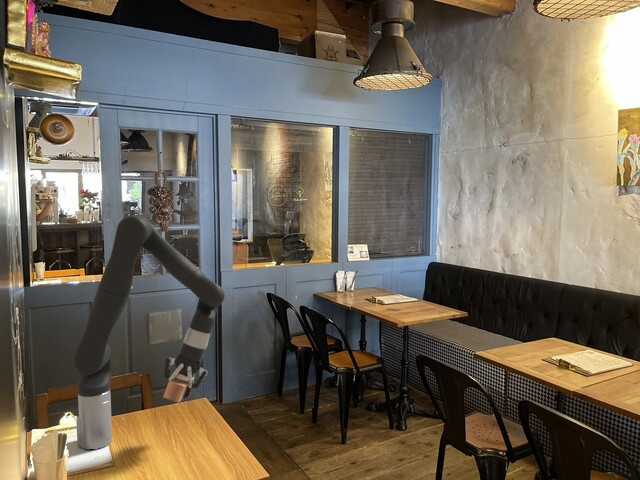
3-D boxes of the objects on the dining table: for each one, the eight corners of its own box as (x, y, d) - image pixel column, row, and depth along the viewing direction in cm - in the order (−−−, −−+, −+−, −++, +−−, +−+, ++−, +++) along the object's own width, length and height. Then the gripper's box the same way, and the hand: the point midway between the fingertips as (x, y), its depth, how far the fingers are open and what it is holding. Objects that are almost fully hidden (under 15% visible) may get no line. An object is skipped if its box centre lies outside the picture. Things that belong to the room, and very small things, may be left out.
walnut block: (174, 388, 159) (163, 397, 147) (179, 374, 160) (169, 381, 148) (188, 394, 159) (178, 402, 147) (193, 379, 160) (184, 386, 148)
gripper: (170, 337, 151) (151, 390, 149) (213, 352, 151) (194, 406, 149) (177, 335, 158) (158, 385, 157) (218, 349, 158) (200, 400, 157)
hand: (176, 395), depth 153 cm, fingers closed on walnut block, 5 cm apart
